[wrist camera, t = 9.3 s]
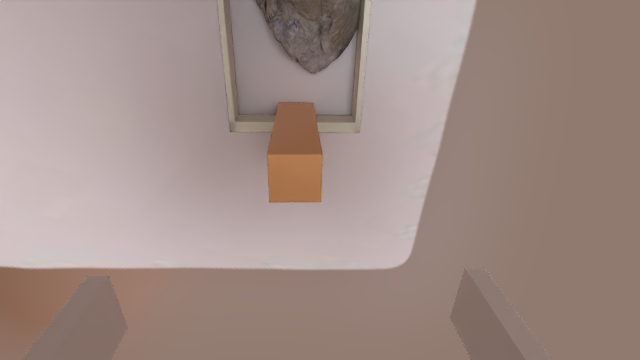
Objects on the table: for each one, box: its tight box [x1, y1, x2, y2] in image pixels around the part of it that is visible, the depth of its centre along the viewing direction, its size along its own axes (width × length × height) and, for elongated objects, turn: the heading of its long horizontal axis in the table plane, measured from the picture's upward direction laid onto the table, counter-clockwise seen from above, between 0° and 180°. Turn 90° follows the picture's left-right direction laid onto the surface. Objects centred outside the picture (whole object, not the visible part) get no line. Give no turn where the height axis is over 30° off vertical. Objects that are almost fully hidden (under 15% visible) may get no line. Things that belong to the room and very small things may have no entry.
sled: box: [217, 0, 371, 202], centre depth 24 cm, size 20×12×14 cm, turn 179°
